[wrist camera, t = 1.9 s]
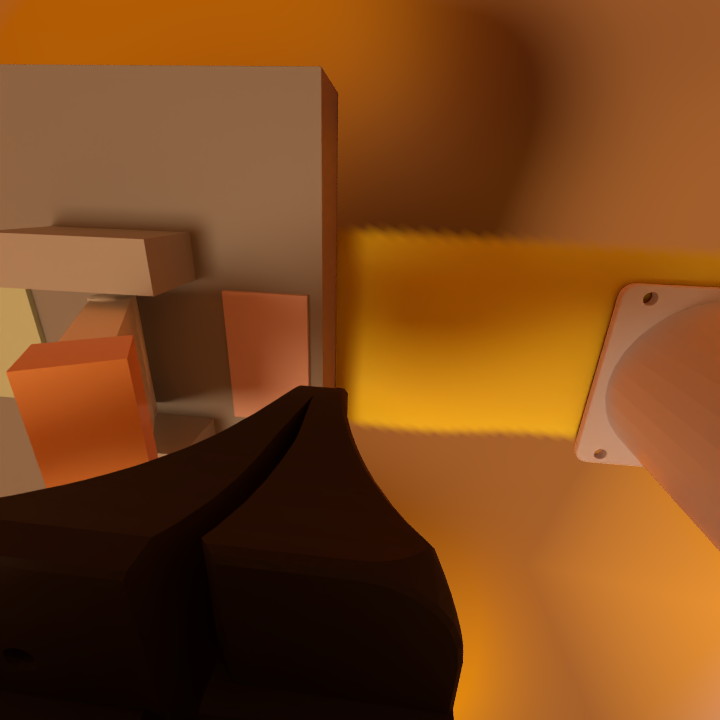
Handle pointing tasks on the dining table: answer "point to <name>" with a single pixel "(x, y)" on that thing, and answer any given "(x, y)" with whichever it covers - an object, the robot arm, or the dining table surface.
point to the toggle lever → (89, 394)
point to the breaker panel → (177, 180)
